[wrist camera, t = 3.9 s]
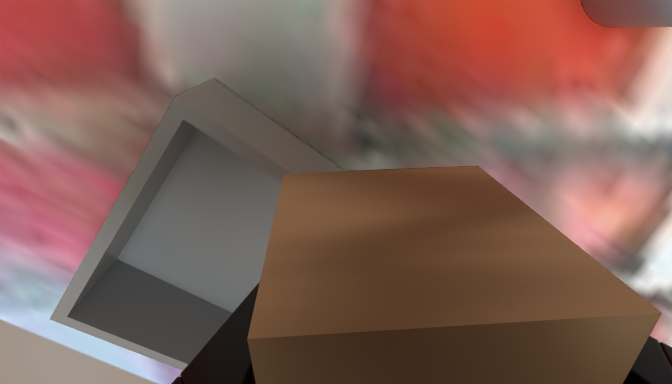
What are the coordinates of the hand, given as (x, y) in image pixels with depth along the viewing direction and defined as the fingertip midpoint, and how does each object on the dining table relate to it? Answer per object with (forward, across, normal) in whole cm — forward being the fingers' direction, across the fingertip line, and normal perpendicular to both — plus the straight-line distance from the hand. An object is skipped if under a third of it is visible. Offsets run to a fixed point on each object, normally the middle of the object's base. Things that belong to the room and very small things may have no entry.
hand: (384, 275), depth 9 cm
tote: (+11, +4, +7) cm, 13 cm away
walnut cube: (+1, 0, 0) cm, 1 cm away
